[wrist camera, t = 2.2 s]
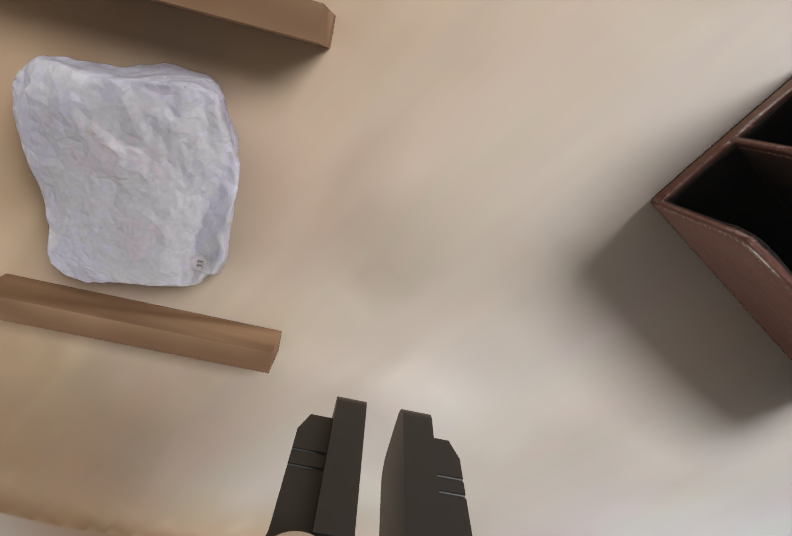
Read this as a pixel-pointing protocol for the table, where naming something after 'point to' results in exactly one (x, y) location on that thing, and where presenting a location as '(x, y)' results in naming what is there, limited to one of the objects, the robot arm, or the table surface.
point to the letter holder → (744, 213)
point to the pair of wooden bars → (151, 324)
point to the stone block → (130, 168)
